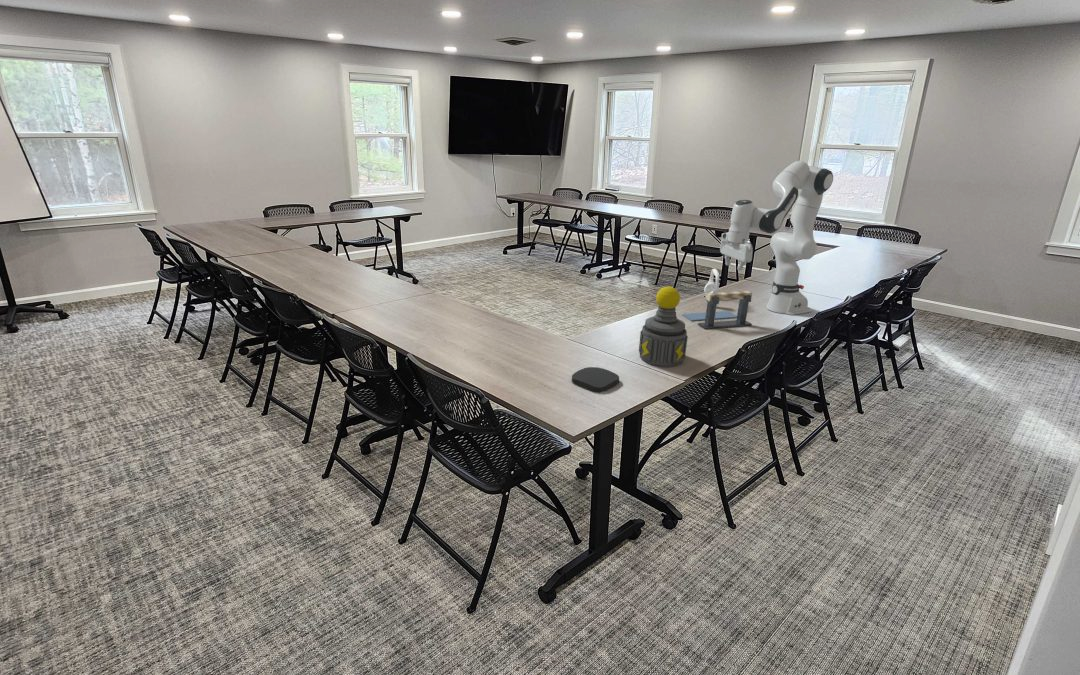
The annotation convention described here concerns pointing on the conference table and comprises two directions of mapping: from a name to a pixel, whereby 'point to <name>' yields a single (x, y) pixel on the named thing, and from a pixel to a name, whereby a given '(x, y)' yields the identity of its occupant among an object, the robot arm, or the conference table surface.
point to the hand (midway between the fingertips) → (733, 267)
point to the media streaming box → (595, 379)
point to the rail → (728, 295)
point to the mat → (702, 316)
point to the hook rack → (726, 324)
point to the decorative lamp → (664, 332)
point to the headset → (712, 283)
